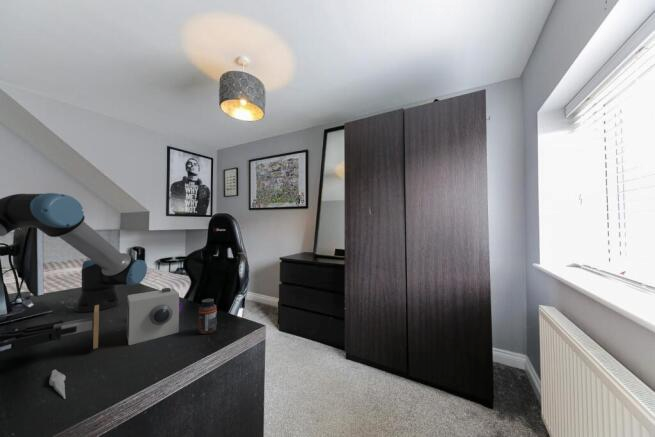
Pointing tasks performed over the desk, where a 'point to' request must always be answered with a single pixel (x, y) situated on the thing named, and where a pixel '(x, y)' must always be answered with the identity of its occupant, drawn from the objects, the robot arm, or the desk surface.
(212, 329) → the supplement bottle
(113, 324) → the desk surface
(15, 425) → the desk surface
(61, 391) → the grey tapered wedge
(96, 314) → the door
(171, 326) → the camera body
